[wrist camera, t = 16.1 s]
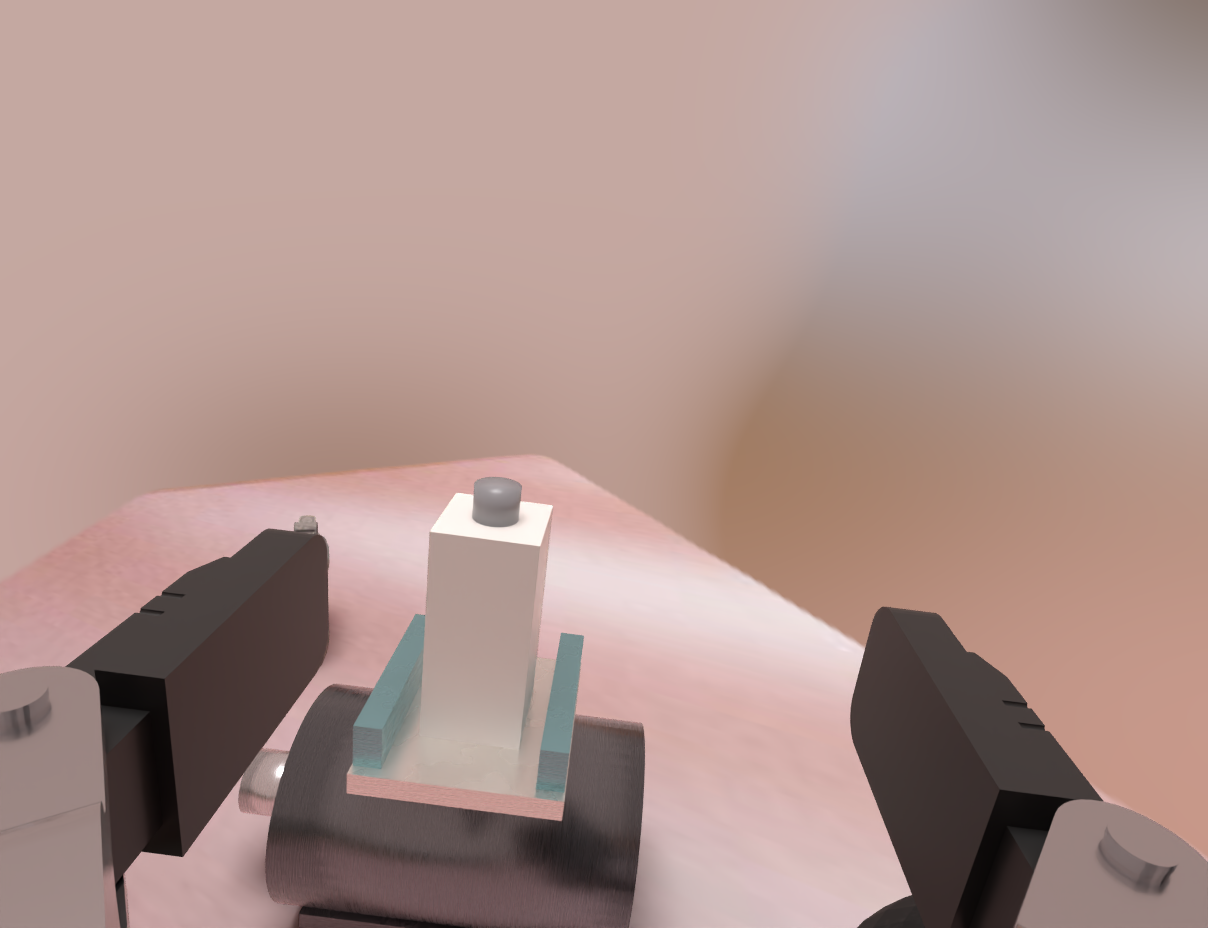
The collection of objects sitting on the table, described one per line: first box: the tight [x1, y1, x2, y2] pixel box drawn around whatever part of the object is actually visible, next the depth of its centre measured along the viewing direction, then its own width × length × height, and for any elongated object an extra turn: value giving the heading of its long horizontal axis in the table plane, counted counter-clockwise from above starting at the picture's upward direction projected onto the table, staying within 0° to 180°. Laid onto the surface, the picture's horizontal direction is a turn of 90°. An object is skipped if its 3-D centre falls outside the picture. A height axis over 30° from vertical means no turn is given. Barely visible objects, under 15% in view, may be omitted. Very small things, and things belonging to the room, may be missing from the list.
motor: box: [238, 614, 645, 928], centre depth 36 cm, size 19×10×13 cm, turn 88°
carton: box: [419, 477, 553, 750], centre depth 33 cm, size 4×4×12 cm
